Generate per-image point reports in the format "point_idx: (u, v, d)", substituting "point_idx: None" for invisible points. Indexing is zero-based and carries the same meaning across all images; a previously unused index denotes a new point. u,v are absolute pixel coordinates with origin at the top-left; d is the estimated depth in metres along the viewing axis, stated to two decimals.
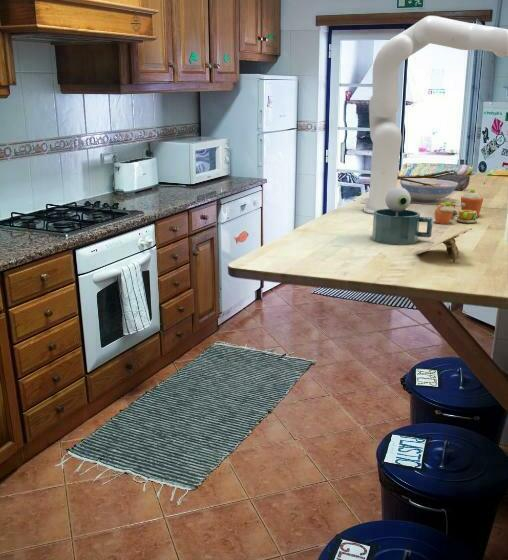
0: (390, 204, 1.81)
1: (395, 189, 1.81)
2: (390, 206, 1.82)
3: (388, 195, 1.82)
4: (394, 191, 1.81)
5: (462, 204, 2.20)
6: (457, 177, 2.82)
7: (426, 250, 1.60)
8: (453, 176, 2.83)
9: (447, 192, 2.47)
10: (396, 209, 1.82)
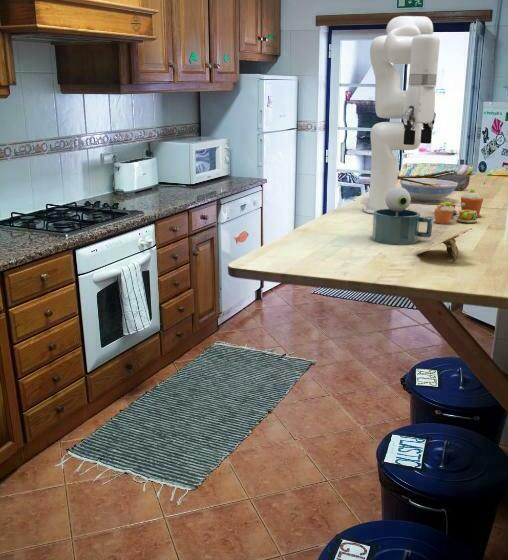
0: (390, 204, 1.81)
1: (395, 189, 1.81)
2: (390, 206, 1.82)
3: (388, 195, 1.82)
4: (394, 191, 1.81)
5: (462, 204, 2.20)
6: (457, 177, 2.82)
7: (426, 250, 1.60)
8: (453, 176, 2.83)
9: (447, 192, 2.47)
10: (396, 209, 1.82)
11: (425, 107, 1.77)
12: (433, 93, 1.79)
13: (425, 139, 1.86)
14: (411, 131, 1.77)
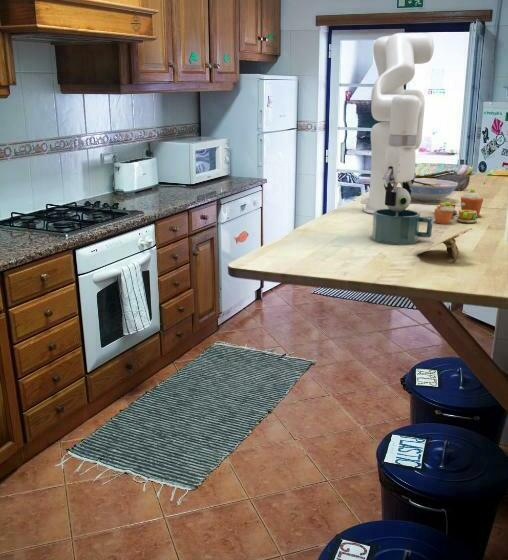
0: None
1: None
2: (390, 206, 1.82)
3: None
4: None
5: (462, 204, 2.20)
6: (457, 177, 2.82)
7: (426, 250, 1.60)
8: (453, 176, 2.83)
9: (447, 192, 2.47)
10: (396, 209, 1.81)
11: (405, 167, 1.78)
12: (413, 152, 1.80)
13: None
14: (392, 193, 1.79)
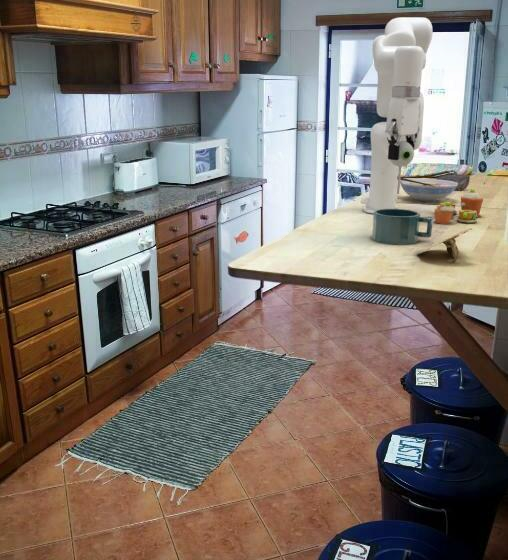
0: None
1: None
2: (393, 160, 1.79)
3: None
4: None
5: (462, 204, 2.20)
6: (457, 177, 2.82)
7: (426, 250, 1.60)
8: (453, 176, 2.83)
9: (447, 192, 2.47)
10: (399, 163, 1.79)
11: (408, 120, 1.75)
12: (417, 105, 1.76)
13: None
14: (395, 146, 1.76)
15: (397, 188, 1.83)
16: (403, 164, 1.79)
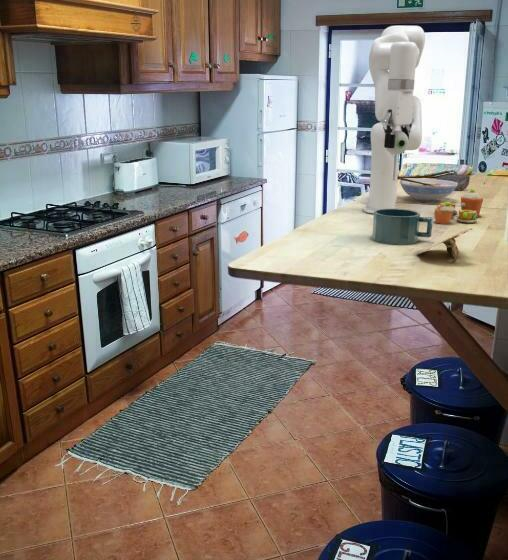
0: None
1: (394, 132, 1.91)
2: (389, 148, 1.91)
3: None
4: (393, 134, 1.90)
5: (462, 204, 2.20)
6: (457, 177, 2.82)
7: (426, 250, 1.60)
8: (453, 176, 2.83)
9: (447, 192, 2.47)
10: (395, 151, 1.91)
11: (403, 110, 1.87)
12: (411, 97, 1.89)
13: None
14: (391, 135, 1.88)
15: (393, 175, 1.95)
16: (398, 152, 1.91)
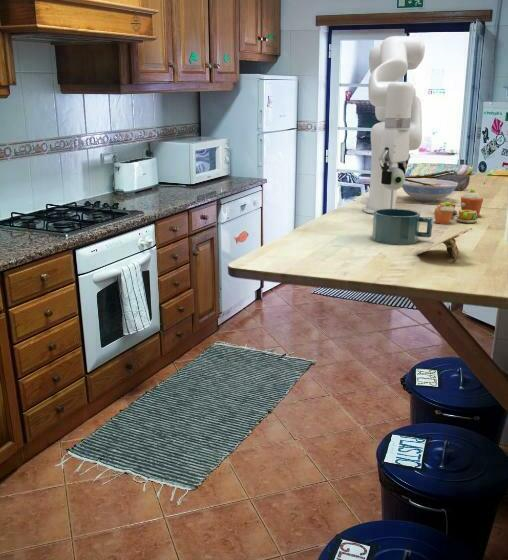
0: None
1: (391, 169, 1.96)
2: (386, 185, 1.96)
3: None
4: None
5: (462, 204, 2.20)
6: (457, 177, 2.82)
7: (426, 250, 1.60)
8: (453, 176, 2.83)
9: (447, 192, 2.47)
10: (392, 187, 1.96)
11: (399, 148, 1.92)
12: (407, 135, 1.94)
13: None
14: (388, 172, 1.93)
15: None
16: (395, 188, 1.96)
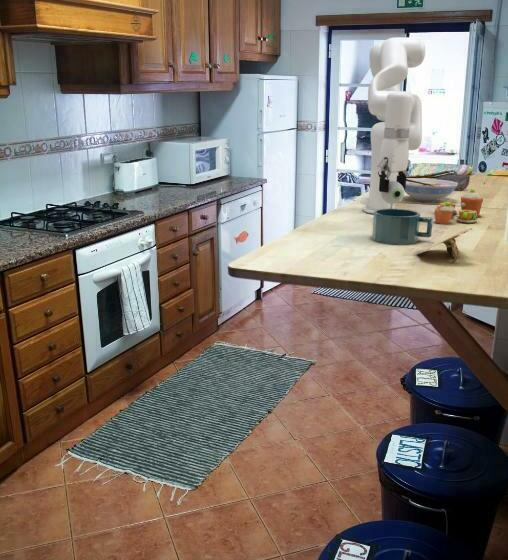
0: (385, 197, 1.97)
1: (390, 183, 1.97)
2: (385, 198, 1.97)
3: None
4: (389, 185, 1.96)
5: (462, 204, 2.20)
6: (457, 177, 2.82)
7: (426, 250, 1.60)
8: (453, 176, 2.83)
9: (447, 192, 2.47)
10: (391, 201, 1.97)
11: (399, 158, 1.93)
12: (406, 144, 1.95)
13: None
14: (385, 180, 1.94)
15: None
16: (394, 202, 1.97)
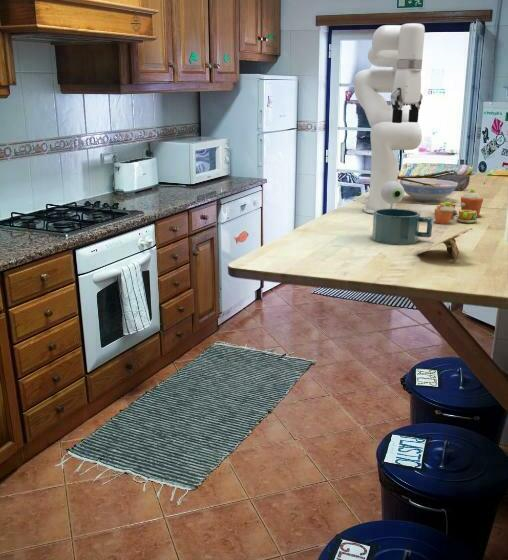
0: (385, 197, 1.97)
1: (390, 183, 1.97)
2: (385, 198, 1.97)
3: (383, 188, 1.97)
4: (389, 185, 1.96)
5: (462, 204, 2.20)
6: (457, 177, 2.82)
7: (426, 250, 1.60)
8: (453, 176, 2.83)
9: (447, 192, 2.47)
10: (391, 201, 1.97)
11: (411, 89, 1.98)
12: (419, 76, 2.00)
13: (412, 118, 2.06)
14: (399, 110, 1.98)
15: None
16: (394, 202, 1.97)
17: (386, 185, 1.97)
